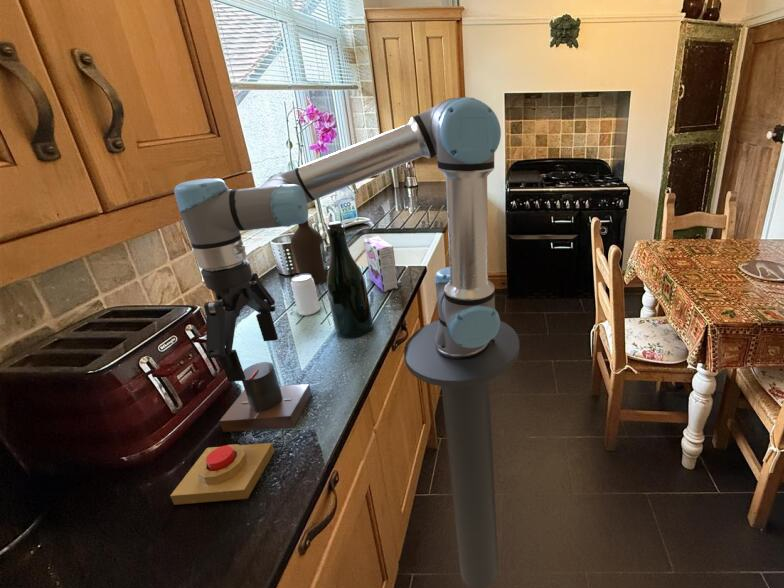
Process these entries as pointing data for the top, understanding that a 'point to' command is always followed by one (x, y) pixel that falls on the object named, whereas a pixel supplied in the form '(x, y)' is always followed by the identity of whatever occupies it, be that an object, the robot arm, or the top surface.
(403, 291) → the top surface
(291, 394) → the panel
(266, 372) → the dimmer knob
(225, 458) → the light button
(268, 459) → the switch block
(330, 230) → the dark green wine bottle
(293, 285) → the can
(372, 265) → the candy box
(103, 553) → the top surface
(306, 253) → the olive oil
